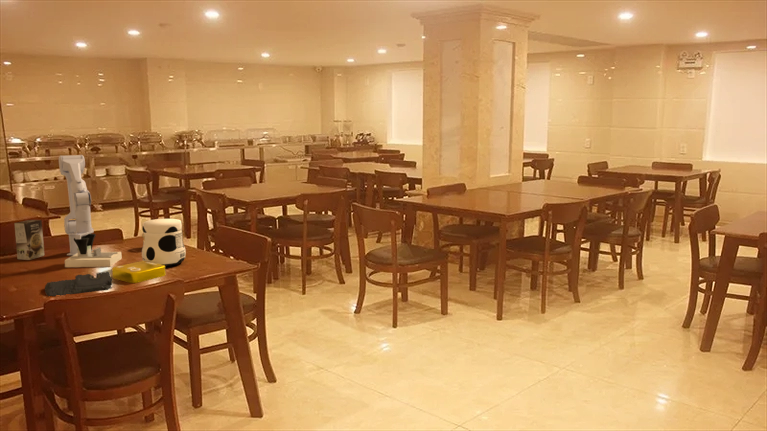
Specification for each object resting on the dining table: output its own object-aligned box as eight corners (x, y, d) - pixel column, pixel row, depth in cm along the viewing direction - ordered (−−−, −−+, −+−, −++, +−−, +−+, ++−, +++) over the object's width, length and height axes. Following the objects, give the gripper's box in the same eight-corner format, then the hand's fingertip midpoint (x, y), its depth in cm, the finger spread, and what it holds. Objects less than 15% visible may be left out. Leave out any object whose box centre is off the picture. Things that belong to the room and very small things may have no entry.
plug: (82, 262, 264) (81, 245, 263) (92, 261, 264) (90, 245, 263) (78, 264, 260) (77, 247, 259) (88, 264, 260) (87, 247, 259)
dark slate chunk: (44, 288, 227) (43, 275, 226) (110, 280, 237) (109, 268, 236) (45, 299, 214) (43, 285, 213) (114, 290, 224) (113, 277, 223)
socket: (78, 259, 268) (78, 251, 268) (121, 258, 270) (121, 250, 269) (65, 267, 255) (64, 259, 254) (110, 266, 256) (109, 258, 255)
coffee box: (29, 260, 266) (26, 223, 264) (17, 259, 268) (13, 222, 265) (45, 255, 275) (42, 219, 273) (32, 254, 277) (29, 219, 274)
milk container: (140, 261, 264) (137, 220, 261) (182, 257, 272) (180, 217, 269) (145, 271, 249) (142, 226, 246) (189, 266, 257) (187, 223, 254)
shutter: (98, 253, 265) (98, 247, 264) (114, 253, 266) (113, 246, 265) (92, 257, 259) (92, 250, 258) (109, 257, 259) (108, 250, 259)
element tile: (168, 276, 243) (167, 264, 242) (134, 284, 231) (133, 272, 230) (144, 270, 252) (143, 259, 251) (110, 278, 239) (109, 266, 238)
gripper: (80, 218, 266) (83, 249, 268) (66, 224, 252) (69, 256, 254) (97, 217, 266) (99, 248, 269) (84, 224, 252) (86, 256, 254)
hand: (86, 252), depth 261 cm, fingers open, 5 cm apart
